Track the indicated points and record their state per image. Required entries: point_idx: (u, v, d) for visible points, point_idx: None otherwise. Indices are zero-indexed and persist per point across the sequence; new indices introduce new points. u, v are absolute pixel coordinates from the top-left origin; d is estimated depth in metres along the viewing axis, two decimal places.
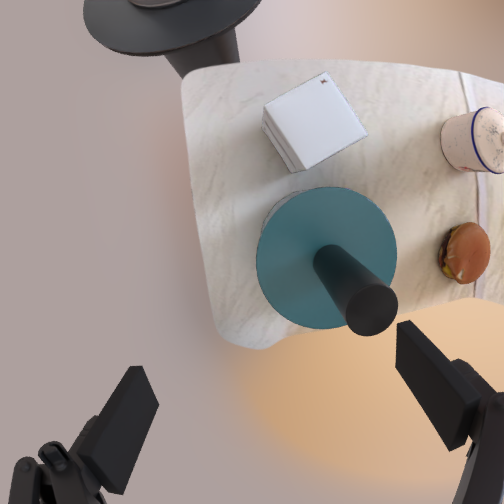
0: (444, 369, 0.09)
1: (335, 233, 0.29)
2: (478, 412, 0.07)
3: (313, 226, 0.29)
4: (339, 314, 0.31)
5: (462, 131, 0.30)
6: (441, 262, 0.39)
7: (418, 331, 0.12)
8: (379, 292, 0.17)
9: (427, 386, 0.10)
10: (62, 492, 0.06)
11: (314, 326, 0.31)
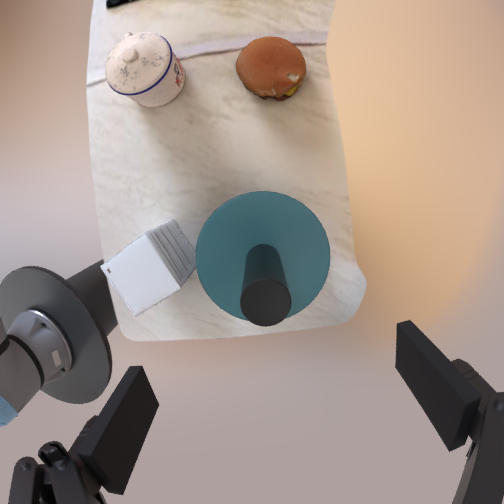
0: (444, 369, 0.09)
1: (236, 257, 0.33)
2: (478, 412, 0.07)
3: (230, 276, 0.33)
4: (316, 248, 0.32)
5: (137, 98, 0.33)
6: (283, 97, 0.38)
7: (418, 331, 0.12)
8: (247, 299, 0.21)
9: (427, 386, 0.10)
10: (62, 492, 0.06)
11: (326, 271, 0.33)
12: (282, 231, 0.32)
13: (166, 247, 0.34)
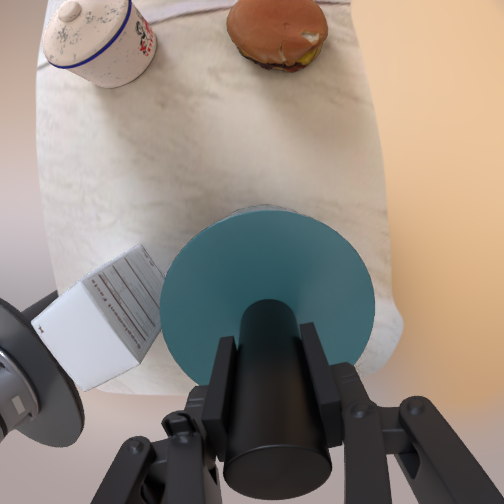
0: (318, 369, 0.11)
1: (224, 319, 0.20)
2: (341, 415, 0.09)
3: (216, 347, 0.20)
4: (354, 302, 0.19)
5: (84, 72, 0.20)
6: (295, 67, 0.24)
7: (314, 332, 0.15)
8: (239, 473, 0.08)
9: None
10: (177, 466, 0.08)
11: (366, 336, 0.20)
12: (301, 278, 0.19)
13: (119, 295, 0.21)
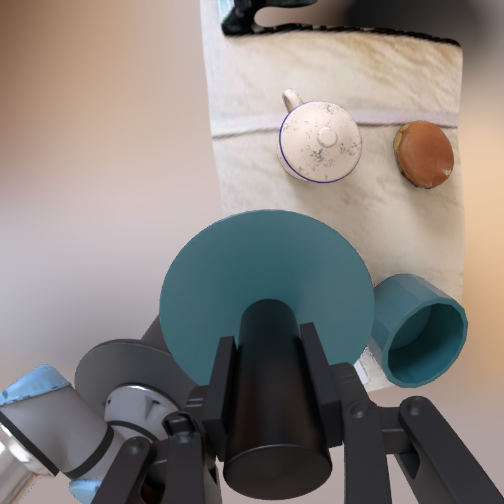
0: (318, 369, 0.11)
1: (224, 318, 0.20)
2: (341, 415, 0.09)
3: (216, 347, 0.20)
4: (354, 302, 0.19)
5: None
6: None
7: (314, 332, 0.15)
8: (239, 473, 0.08)
9: None
10: (177, 466, 0.08)
11: (366, 336, 0.20)
12: (301, 278, 0.19)
13: None
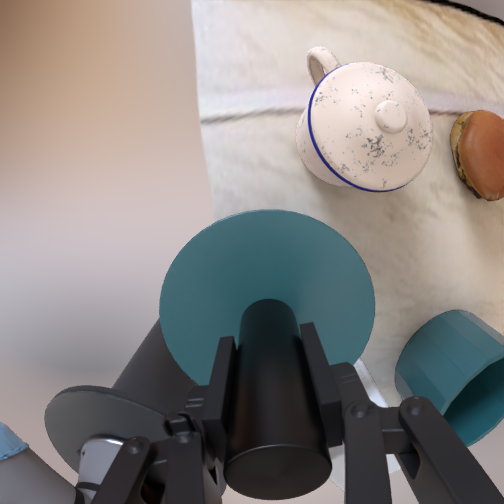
0: (318, 369, 0.11)
1: (224, 318, 0.20)
2: (341, 415, 0.09)
3: (216, 347, 0.20)
4: (354, 302, 0.19)
5: None
6: None
7: (314, 332, 0.15)
8: (239, 473, 0.08)
9: None
10: (177, 466, 0.08)
11: (366, 336, 0.20)
12: (301, 277, 0.19)
13: None
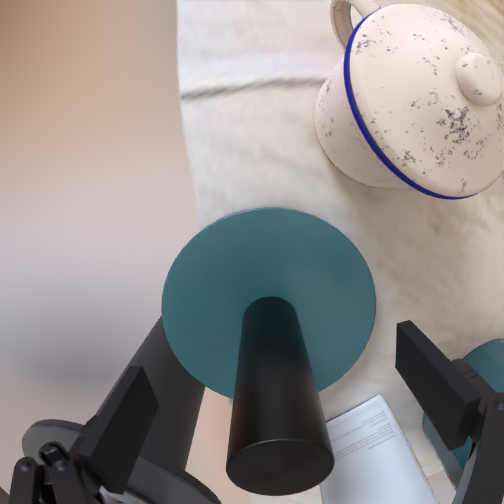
0: (444, 369, 0.09)
1: (226, 316, 0.20)
2: (478, 412, 0.07)
3: (217, 344, 0.20)
4: (355, 300, 0.19)
5: (409, 188, 0.13)
6: None
7: (418, 331, 0.12)
8: (242, 468, 0.08)
9: (427, 386, 0.10)
10: (62, 492, 0.06)
11: (367, 334, 0.20)
12: (302, 275, 0.19)
13: None
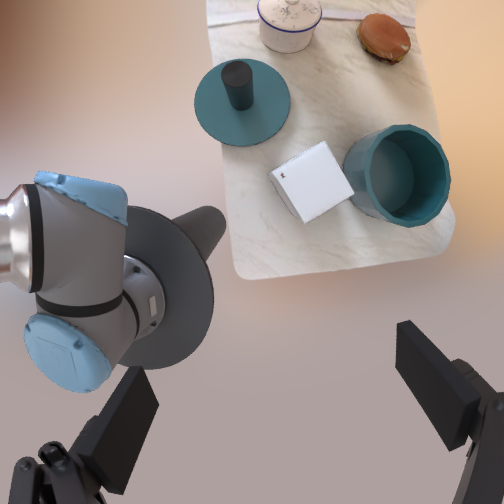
0: (444, 369, 0.09)
1: (223, 98, 0.42)
2: (478, 412, 0.07)
3: (218, 112, 0.42)
4: (279, 91, 0.42)
5: (285, 37, 0.35)
6: (393, 62, 0.39)
7: (418, 331, 0.12)
8: (225, 71, 0.30)
9: (427, 386, 0.10)
10: (62, 491, 0.06)
11: (287, 107, 0.42)
12: (255, 81, 0.41)
13: None
